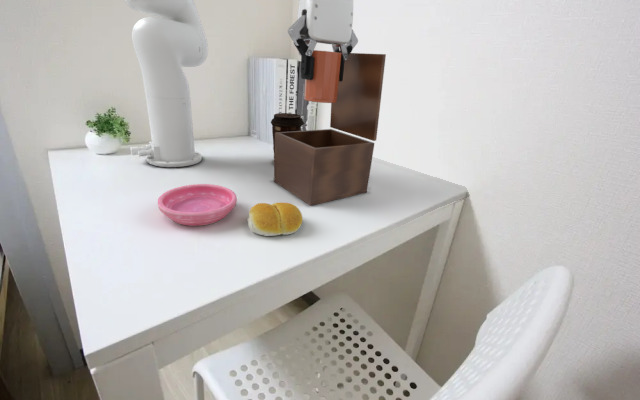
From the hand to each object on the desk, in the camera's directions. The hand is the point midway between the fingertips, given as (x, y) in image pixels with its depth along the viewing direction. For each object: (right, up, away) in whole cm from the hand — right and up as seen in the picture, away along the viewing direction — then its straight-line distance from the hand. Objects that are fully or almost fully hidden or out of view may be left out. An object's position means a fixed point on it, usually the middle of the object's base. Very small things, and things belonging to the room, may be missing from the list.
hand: (322, 79), depth 61 cm
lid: (+7, -2, +5) cm, 8 cm away
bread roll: (-8, -28, -9) cm, 31 cm away
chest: (0, -21, +9) cm, 23 cm away
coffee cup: (-10, -14, +23) cm, 29 cm away
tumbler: (0, -4, +2) cm, 4 cm away
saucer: (-21, -26, -7) cm, 35 cm away
